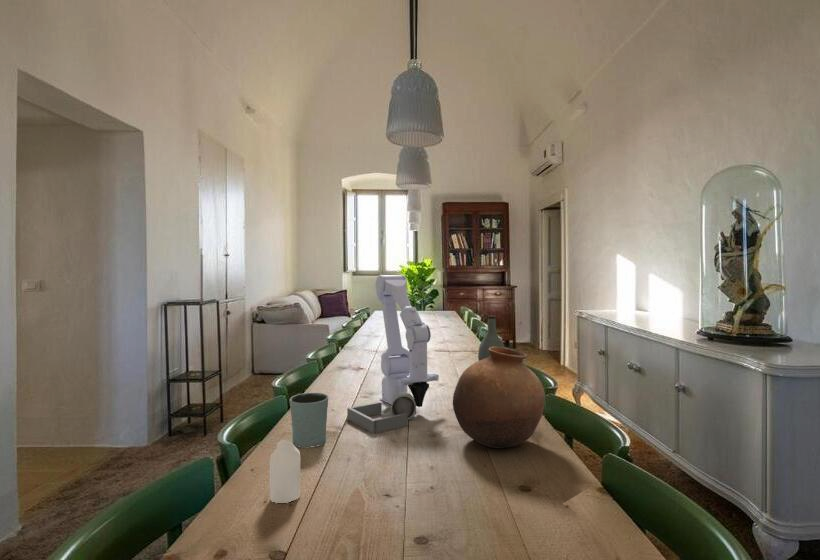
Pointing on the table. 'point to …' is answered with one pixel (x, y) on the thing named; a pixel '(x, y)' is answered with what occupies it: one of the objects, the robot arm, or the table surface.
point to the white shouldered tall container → (285, 473)
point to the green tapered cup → (309, 418)
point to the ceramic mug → (401, 405)
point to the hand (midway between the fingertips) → (418, 406)
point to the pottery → (499, 399)
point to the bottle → (489, 339)
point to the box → (378, 425)
